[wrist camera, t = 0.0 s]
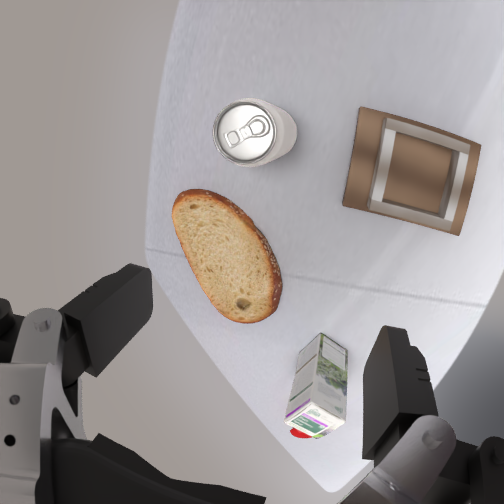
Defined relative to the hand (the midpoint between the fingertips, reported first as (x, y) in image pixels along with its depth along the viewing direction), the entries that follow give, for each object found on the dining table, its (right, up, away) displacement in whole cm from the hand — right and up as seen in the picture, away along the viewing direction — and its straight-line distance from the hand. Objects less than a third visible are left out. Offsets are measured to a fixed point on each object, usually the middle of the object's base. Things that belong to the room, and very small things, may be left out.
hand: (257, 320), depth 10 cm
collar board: (+19, +12, +22) cm, 32 cm away
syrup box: (+11, -13, +35) cm, 39 cm away
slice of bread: (-4, +1, +34) cm, 34 cm away
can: (+2, +17, +25) cm, 31 cm away
